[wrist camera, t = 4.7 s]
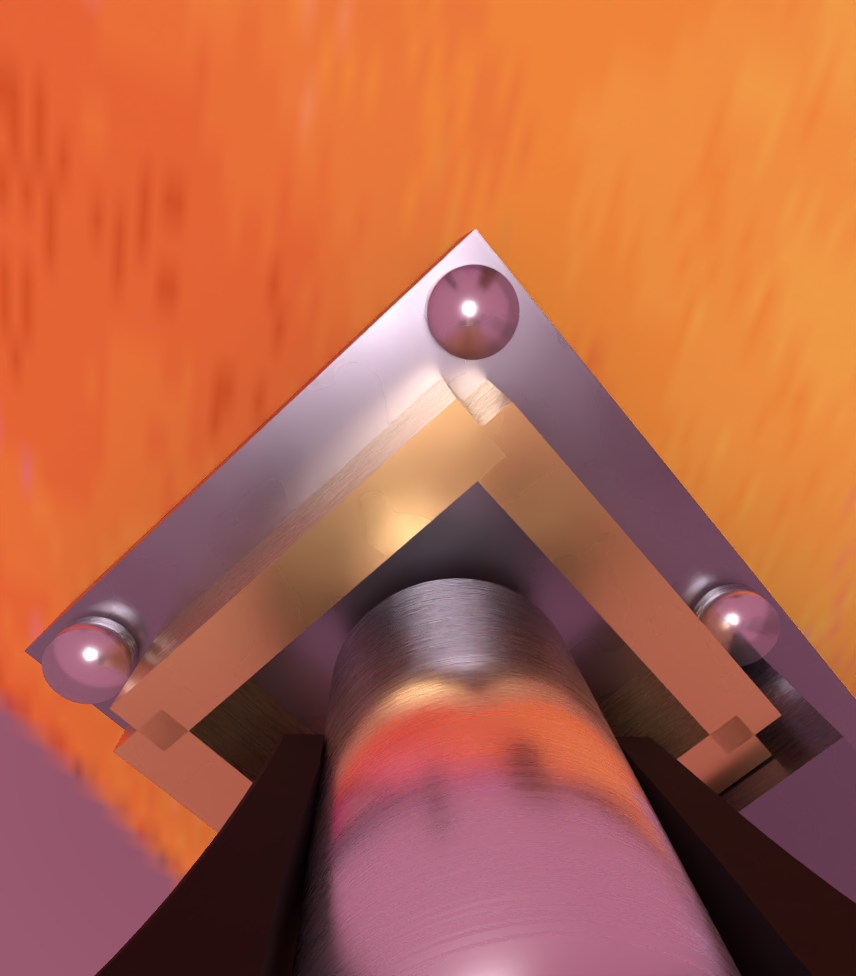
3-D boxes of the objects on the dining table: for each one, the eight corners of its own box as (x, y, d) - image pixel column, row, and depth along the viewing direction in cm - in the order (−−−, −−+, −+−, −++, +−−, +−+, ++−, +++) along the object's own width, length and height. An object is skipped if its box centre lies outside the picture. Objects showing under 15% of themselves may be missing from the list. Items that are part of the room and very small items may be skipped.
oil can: (617, 706, 13) (1039, 1442, 5) (428, 831, 13) (500, 1696, 5) (480, 529, 12) (718, 1084, 3) (280, 674, 12) (63, 1462, 4)
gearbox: (856, 719, 18) (1031, 878, 13) (510, 969, 20) (552, 1190, 15) (462, 236, 14) (505, 210, 9) (69, 605, 15) (-72, 748, 11)
